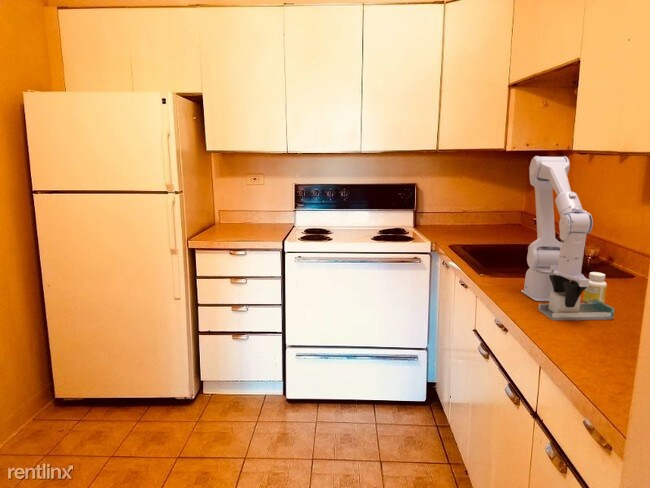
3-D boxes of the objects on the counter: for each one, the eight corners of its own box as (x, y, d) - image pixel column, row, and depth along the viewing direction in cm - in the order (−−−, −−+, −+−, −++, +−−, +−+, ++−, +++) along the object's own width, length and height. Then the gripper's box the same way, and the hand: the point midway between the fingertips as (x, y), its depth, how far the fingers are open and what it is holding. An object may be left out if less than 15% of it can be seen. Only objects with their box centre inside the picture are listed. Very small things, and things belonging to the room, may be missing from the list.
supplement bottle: (595, 301, 133) (600, 271, 130) (607, 308, 127) (612, 276, 125) (578, 301, 132) (583, 271, 130) (589, 308, 127) (594, 276, 125)
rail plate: (553, 320, 118) (554, 309, 117) (538, 310, 125) (539, 299, 124) (612, 319, 119) (614, 308, 118) (594, 309, 126) (596, 299, 125)
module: (548, 308, 124) (550, 291, 122) (568, 308, 124) (571, 290, 123) (557, 314, 119) (560, 296, 118) (578, 314, 120) (581, 296, 118)
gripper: (542, 250, 125) (536, 294, 128) (573, 263, 111) (566, 313, 114) (565, 250, 125) (559, 294, 128) (599, 263, 111) (591, 313, 114)
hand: (564, 303), depth 121 cm, fingers closed on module, 4 cm apart
